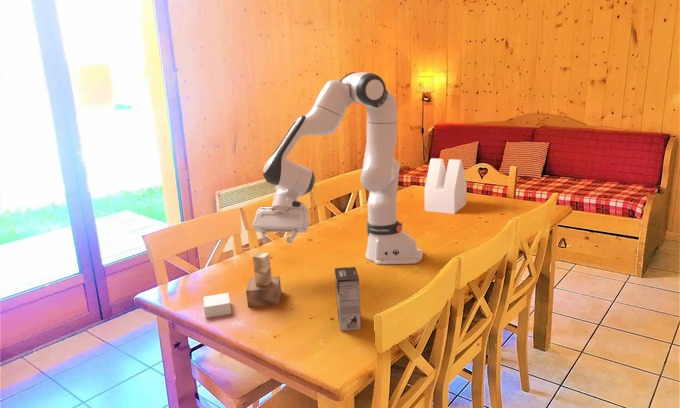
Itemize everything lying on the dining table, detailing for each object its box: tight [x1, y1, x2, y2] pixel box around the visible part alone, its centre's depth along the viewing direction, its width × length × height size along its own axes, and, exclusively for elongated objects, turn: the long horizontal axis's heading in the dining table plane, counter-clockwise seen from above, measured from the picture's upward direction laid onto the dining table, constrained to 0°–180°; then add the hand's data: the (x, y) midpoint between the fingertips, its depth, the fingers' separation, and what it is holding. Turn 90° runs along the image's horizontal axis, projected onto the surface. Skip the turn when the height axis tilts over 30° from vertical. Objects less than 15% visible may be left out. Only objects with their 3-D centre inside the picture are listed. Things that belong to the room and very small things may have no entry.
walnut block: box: [245, 275, 282, 308], centre depth 174 cm, size 10×10×6 cm
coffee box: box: [334, 266, 362, 332], centre depth 153 cm, size 9×6×16 cm
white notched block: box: [423, 157, 468, 215], centre depth 264 cm, size 19×15×25 cm
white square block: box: [202, 292, 232, 319], centre depth 168 cm, size 8×8×4 cm
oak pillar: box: [252, 252, 272, 286], centre depth 171 cm, size 4×4×10 cm
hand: (276, 242), depth 182 cm, fingers open, 8 cm apart
